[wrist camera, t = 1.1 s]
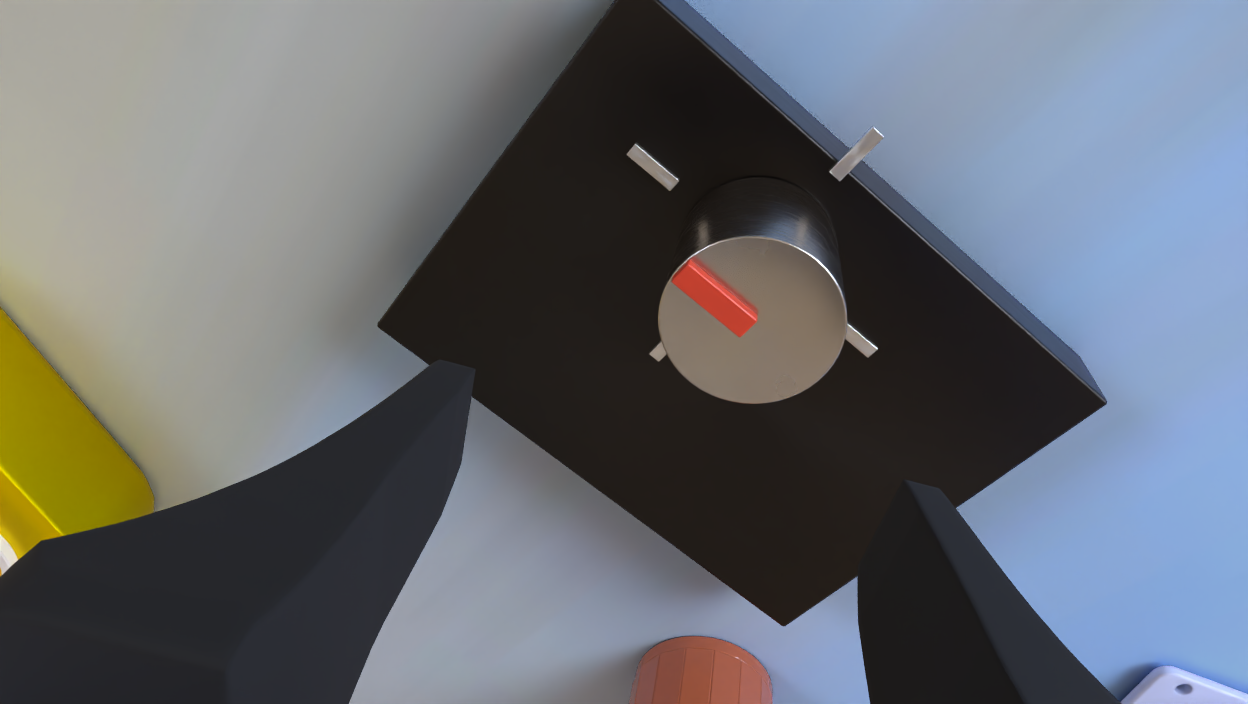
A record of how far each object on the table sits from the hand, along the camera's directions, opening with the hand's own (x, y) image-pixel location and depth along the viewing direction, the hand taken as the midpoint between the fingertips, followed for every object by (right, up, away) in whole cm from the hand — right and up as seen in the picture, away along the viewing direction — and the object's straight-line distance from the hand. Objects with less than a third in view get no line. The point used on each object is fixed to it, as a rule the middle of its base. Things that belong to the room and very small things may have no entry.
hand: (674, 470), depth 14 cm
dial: (+3, +4, +8) cm, 9 cm away
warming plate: (+2, +3, +11) cm, 12 cm away
